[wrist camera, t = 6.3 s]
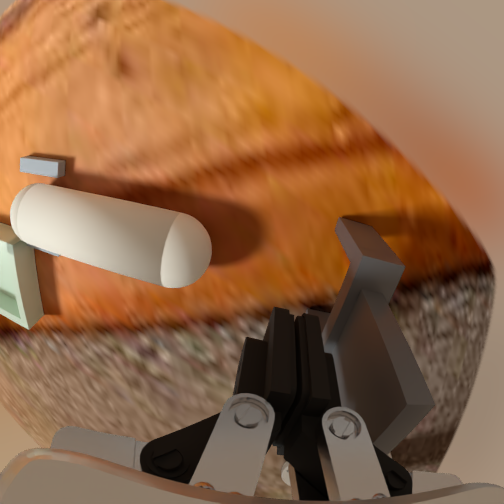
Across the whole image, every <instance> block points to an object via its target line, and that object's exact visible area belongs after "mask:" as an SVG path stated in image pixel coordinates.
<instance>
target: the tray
mask: <svg viewBox="0 0 504 504" xmlns="http://www.w3.org/2000/svg"><path fill="white" fill-rule="evenodd" d="M0 314H2V315H3V316H5V317H7V318H9V319H10V320H12V321H14V322H16V323H17V324H19V325H21V326H23V327H25V328H27V329H30V328H31V327H32V326H33V325H34V324H35V323H36V322H37V321H38V320H39V319H40V318H41V317H42V316H43V315H44V312H43V307H42V302H41V296H40V290H39V284H38V278H37V270H36V263H35V254H34V248H32V247H30V246H27V243H26V242H24V241H22V240H21V239H20V238H19V237H18V236H17V235H16V234H15V232H14V230H13V228H12V226H9V225H6V224H3V223H0Z"/></svg>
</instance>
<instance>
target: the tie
mask: <svg viewBox="0 0 504 504" xmlns="http://www.w3.org/2000/svg"><path fill="white" fill-rule="evenodd" d="M335 232H336V234H337V236H338V238H339V240H340V242H341V244H342V246H343V248H344V250H345V252H346V254H347V256H348V258H349V260H350V262H351V263H350V266H349V269H348V271H347V274H346V276H345V279H344V282H343V284H342V287H341V289H340V292H339V294H338V296H337V299H336V301H335V304H334V306H333V309H332V311H331V313H327V312H322V311H317V310H312V309H308V308H307V310H306V314H311V315H316V316H318V317H319V321H320V327H321V333H322V339H323V345H324V352H326V353H331V354H332V355H333V359H334V364H335V370H336V376H337V381H338V387H339V394H340V400H341V406H342V407H346V408H349V409H351V410H353V411H355V412H356V413H358V414H359V415H360V416H361V417H362V419H363V421H364V422H365V425H366V427H367V430H368V433H369V436H370V438H371V441H372V444H373V445H375V446H376V447H377V448H378V449H380V450H381V451H382V452H384V453H385V454H386V455H388V454H389V453H390V452H391V451H392V450H393V449H394V448H395V447H396V446H397V445H398V444H399V443H400V442H401V441H402V440H403V439H404V438H405V437H406V436H407V435H408V434H409V433H410V432H411V431H412V430H413V429H414V428H415V427H416V426H417V425H418V424H419V422H420V421H421V420H422V419H423V418H424V417H425V416H426V415H427V414H428V412H429V411H430V410H431V409H432V408H433V407H434V406H435V403H434V401H433V398H432V396H431V394H430V391H429V389H428V387H427V384H426V382H425V380H424V377H423V375H422V373H421V371H420V368H419V366H418V364H417V362H416V360H415V358H414V355H413V353H412V351H411V349H410V347H409V345H408V343H407V341H406V339H405V337H404V335H403V333H402V331H401V329H400V327H399V325H398V323H397V321H396V319H395V317H394V315H393V313H392V311H391V309H390V307H389V305H388V304H389V302H390V300H391V298H392V296H393V293H394V291H395V289H396V287H397V285H398V282H399V280H400V278H401V276H402V273H403V271H404V269H405V266H404V264H403V263H402V262H401V261H400V259H399V258H398V257H397V256H396V254H395V253H394V252H393V251H392V250H391V248H390V247H389V246H388V245H387V244H386V242H385V241H384V240H383V239H382V238H381V237H380V235H379V234H378V233H377V232H376V231H375V230H374V228H373V227H372V226H369V225H366V224H362V223H359V222H355V221H352V220H348V219H345V218H341V217H339V218H338V222H337V225H336V228H335Z"/></svg>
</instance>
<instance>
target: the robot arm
mask: <svg viewBox="0 0 504 504" xmlns="http://www.w3.org/2000/svg"><path fill="white" fill-rule="evenodd" d="M272 444H273V446H277V455H284V459H285V460H286V462H285V464H284V465H283V467H282V474H281V477H282V480H283V481H284V482H285V483H286V484H288V485H289V486H291V492H292V498H293V500H283V499H271V498H262V497H253V496H254V493H255V489H256V486H257V483H258V479H259V476H260V472H261V469H262V465H263V462H264V458H265V455H266V453H267V452H268V450H269V448H270V447H271V445H272ZM0 504H504V488H503V487H501V486H498V485H494V484H489V483H468V484H462V482H461V480H460V478H458V477H457V476H456V475H453V474H445V473H432V472H422V471H411V472H410V473H409V472H408V471H407V470H406V469H405V468H404V467H402V466H401V465H400V464H398V463H397V462H396V461H394V460H393V459H392V455H391V452H390V453H389V454H388V455H386V454H385V453H384V452H382V451H381V450H380V449H378V448H377V447H376V446H375V445H373V444H372V441H371V438H370V436H369V433H368V430H367V427H366V425H365V422H364V421H363V419H362V417H361V416H360V415H359V414H358V413H356V412H355V411H353V410H351V409H349V408H346V407H342V406H341V400H340V394H339V387H338V381H337V376H336V370H335V364H334V359H333V355H332V354H331V353H326V352H324V345H323V339H322V333H321V327H320V321H319V317H318V316H316V315H311V314H306V313H303V315H302V317H301V316H297V317H296V319H295V322H294V315H292V314H289V310H287V309H283V308H278V307H274V308H273V311H272V314H271V317H270V320H269V323H268V326H267V330H266V333H265V336H264V339H263V340H258V339H254V338H249V337H246V339H245V342H244V346H243V350H242V353H241V357H240V361H239V366H238V371H237V376H236V381H235V387H234V392H233V396H232V397H230V398H229V399H228V400H227V401H226V403H225V404H224V406H223V409H222V411H221V412H220V413H218V414H216V415H214V416H211V417H209V418H207V419H204V420H202V421H200V422H198V423H195V424H193V425H190V426H188V427H186V428H183V429H181V430H178V431H176V432H173V433H170V434H168V435H165V436H163V437H160V438H157V439H155V440H152V441H151V442H149V443H148V442H140V441H136V440H135V438H130V437H124V436H118V435H113V434H107V433H102V432H97V431H93V430H88V429H84V428H80V427H74V426H67V427H63V428H61V429H59V430H58V431H57V432H56V433H55V435H54V437H53V440H52V444H51V448H34V449H28V450H25V451H23V452H21V453H19V454H18V455H17V456H15V458H13V459H12V460H11V461H10V462H9V463H8V464H7V466H6V467H5V468H4V469H3V471H2V472H1V473H0Z"/></svg>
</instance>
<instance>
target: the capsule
mask: <svg viewBox="0 0 504 504" xmlns="http://www.w3.org/2000/svg"><path fill="white" fill-rule="evenodd" d="M10 220H11V225H12V228H13V230H14V232H15V234H16V235H17V236H18V237H19V238H20V239H21V240H22V241H24V242H26V243H27V244H30V245H33V246H36V247H39V248H41V249H44V250H47V251H50V252H53V253H56V254H59V255H62V256H65V257H68V258H71V259H74V260H77V261H80V262H83V263H86V264H90V265H93V266H96V267H99V268H102V269H105V270H109V271H112V272H115V273H119V274H122V275H125V276H129V277H132V278H135V279H139V280H142V281H146V282H149V283H153V284H156V285H160V286H164V287H169V288H180V287H184V286H188V285H190V284H192V283H194V282H195V281H197V280H198V279H199V278H200V277H201V276H202V275H203V274H204V273H205V271H206V269H207V268H208V266H209V263H210V260H211V255H212V245H211V240H210V237H209V234H208V232H207V230H206V229H205V228H204V226H203V225H202V224H201V223H200V222H199V221H198V220H197V219H195V218H194V217H192V216H190V215H188V214H185V213H181V212H177V211H172V210H168V209H163V208H159V207H154V206H149V205H145V204H140V203H136V202H131V201H126V200H122V199H117V198H112V197H107V196H103V195H98V194H93V193H88V192H83V191H78V190H73V189H68V188H63V187H58V186H53V185H48V184H43V183H35V184H31V185H28V186H26V187H25V188H23V189H22V190H21V191H20V192H19V193H18V194H17V195H16V197H15V199H14V200H13V203H12V206H11V210H10Z"/></svg>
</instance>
